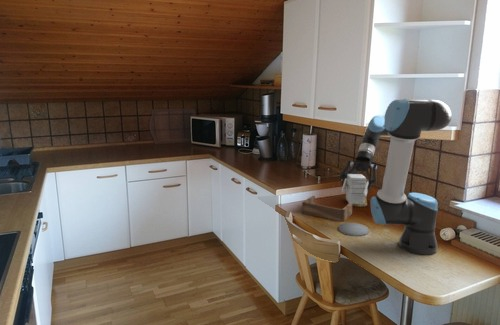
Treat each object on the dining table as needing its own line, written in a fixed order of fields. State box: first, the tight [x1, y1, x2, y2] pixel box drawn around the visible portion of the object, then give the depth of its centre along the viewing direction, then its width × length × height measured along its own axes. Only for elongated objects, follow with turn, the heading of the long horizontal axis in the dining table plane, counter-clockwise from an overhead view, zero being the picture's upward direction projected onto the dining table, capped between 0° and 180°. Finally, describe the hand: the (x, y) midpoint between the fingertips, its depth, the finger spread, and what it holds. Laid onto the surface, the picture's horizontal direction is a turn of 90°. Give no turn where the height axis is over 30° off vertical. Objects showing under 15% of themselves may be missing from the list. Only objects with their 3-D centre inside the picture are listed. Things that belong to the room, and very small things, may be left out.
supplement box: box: [345, 173, 367, 204], centre depth 176 cm, size 7×7×13 cm
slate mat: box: [338, 222, 370, 237], centre depth 179 cm, size 14×14×1 cm
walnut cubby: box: [301, 195, 353, 223], centre depth 201 cm, size 14×23×6 cm, turn 58°
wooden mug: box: [352, 178, 369, 208], centre depth 212 cm, size 9×14×18 cm, turn 12°
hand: (353, 193), depth 174 cm, fingers closed on supplement box, 10 cm apart
